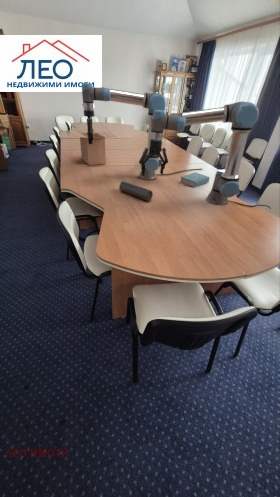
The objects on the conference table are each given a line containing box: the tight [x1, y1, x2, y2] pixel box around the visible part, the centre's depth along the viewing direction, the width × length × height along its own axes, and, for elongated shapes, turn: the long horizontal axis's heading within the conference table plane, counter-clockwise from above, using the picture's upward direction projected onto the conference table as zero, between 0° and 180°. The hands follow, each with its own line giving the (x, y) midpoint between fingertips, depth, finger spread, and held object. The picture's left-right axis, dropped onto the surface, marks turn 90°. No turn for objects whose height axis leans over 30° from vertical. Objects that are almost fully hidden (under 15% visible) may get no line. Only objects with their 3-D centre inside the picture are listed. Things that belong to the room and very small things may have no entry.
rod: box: [119, 180, 154, 202], centre depth 168 cm, size 27×8×8 cm, turn 51°
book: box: [179, 171, 210, 188], centre depth 200 cm, size 23×16×5 cm
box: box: [70, 130, 114, 166], centre depth 229 cm, size 44×36×27 cm
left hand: (91, 142), depth 171 cm, fingers open, 13 cm apart
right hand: (152, 174), depth 148 cm, fingers open, 13 cm apart
